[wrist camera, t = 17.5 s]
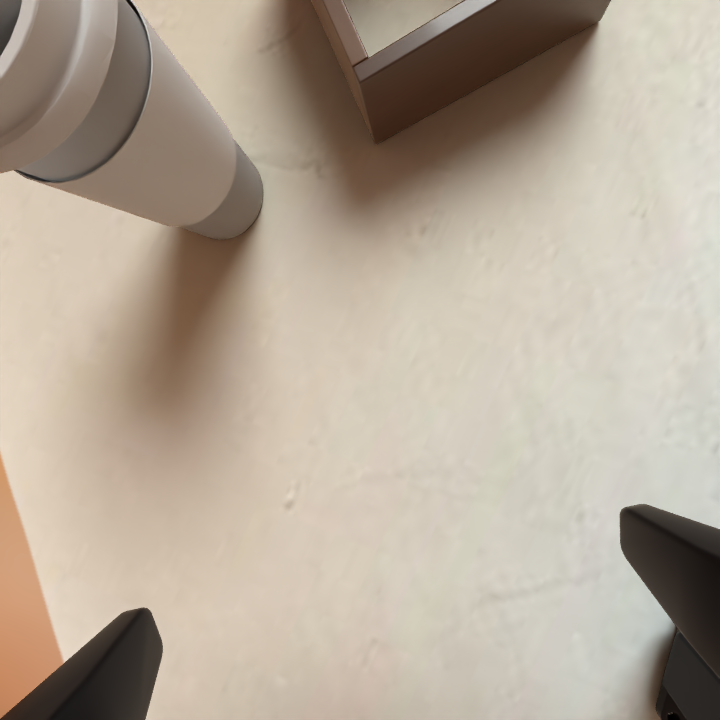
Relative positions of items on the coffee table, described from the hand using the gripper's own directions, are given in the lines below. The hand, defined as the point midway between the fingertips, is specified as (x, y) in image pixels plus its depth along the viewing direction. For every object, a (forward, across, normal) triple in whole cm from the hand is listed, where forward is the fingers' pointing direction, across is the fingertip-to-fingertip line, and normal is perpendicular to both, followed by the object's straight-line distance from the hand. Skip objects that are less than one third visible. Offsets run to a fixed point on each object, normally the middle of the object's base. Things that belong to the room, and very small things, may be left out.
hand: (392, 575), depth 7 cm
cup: (+16, +5, -11) cm, 20 cm away
